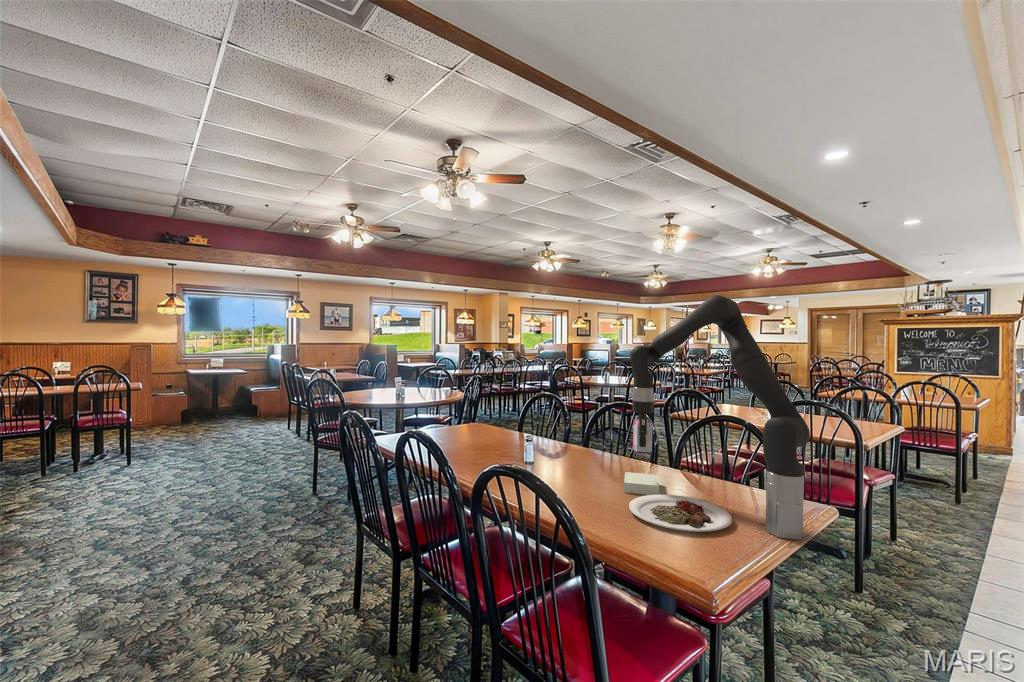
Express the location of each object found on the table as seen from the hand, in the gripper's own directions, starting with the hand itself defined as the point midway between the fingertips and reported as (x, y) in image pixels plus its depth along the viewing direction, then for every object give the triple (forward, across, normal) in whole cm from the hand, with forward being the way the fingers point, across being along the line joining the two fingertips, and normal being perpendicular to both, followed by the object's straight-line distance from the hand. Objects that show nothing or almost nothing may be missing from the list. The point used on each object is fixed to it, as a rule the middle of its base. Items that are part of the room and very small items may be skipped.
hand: (642, 444), depth 169 cm
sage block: (+17, 0, 0) cm, 17 cm away
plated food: (+17, -25, -10) cm, 32 cm away
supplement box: (+3, 0, 0) cm, 3 cm away
